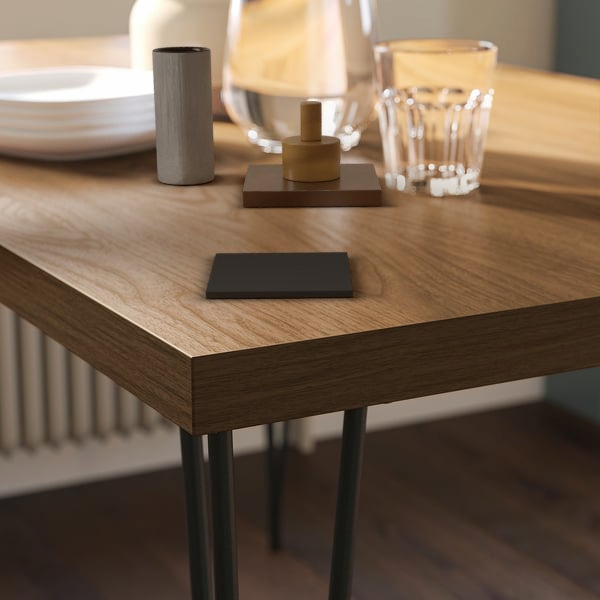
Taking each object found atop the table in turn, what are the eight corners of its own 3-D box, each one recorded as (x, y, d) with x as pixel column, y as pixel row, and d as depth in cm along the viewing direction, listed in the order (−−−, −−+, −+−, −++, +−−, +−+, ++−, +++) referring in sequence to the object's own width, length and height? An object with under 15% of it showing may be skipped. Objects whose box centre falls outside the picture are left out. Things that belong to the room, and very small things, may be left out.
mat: (205, 298, 64) (205, 291, 64) (215, 259, 72) (215, 253, 71) (353, 297, 64) (353, 290, 64) (347, 258, 72) (347, 251, 71)
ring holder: (242, 207, 85) (240, 112, 83) (248, 179, 94) (246, 93, 92) (381, 205, 85) (382, 111, 83) (373, 178, 94) (374, 92, 92)
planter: (180, 188, 91) (175, 53, 88) (146, 179, 95) (140, 49, 92) (226, 179, 94) (222, 48, 91) (191, 171, 98) (186, 45, 94)
